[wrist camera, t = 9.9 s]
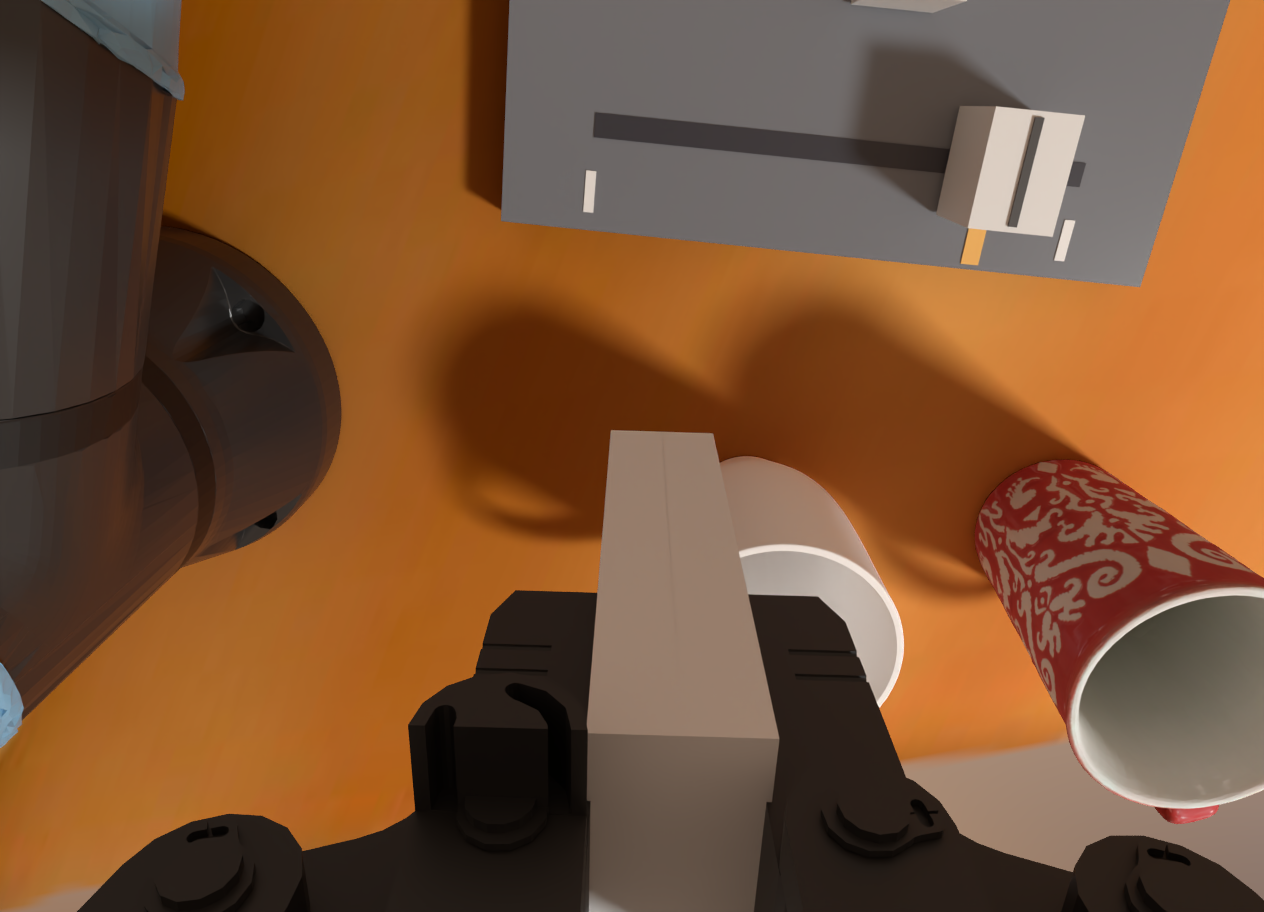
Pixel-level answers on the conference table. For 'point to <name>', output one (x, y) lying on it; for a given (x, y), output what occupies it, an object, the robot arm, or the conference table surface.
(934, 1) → the fader
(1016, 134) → the block
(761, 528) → the mug
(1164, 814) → the mug
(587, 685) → the robot arm
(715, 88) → the console
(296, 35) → the conference table surface
